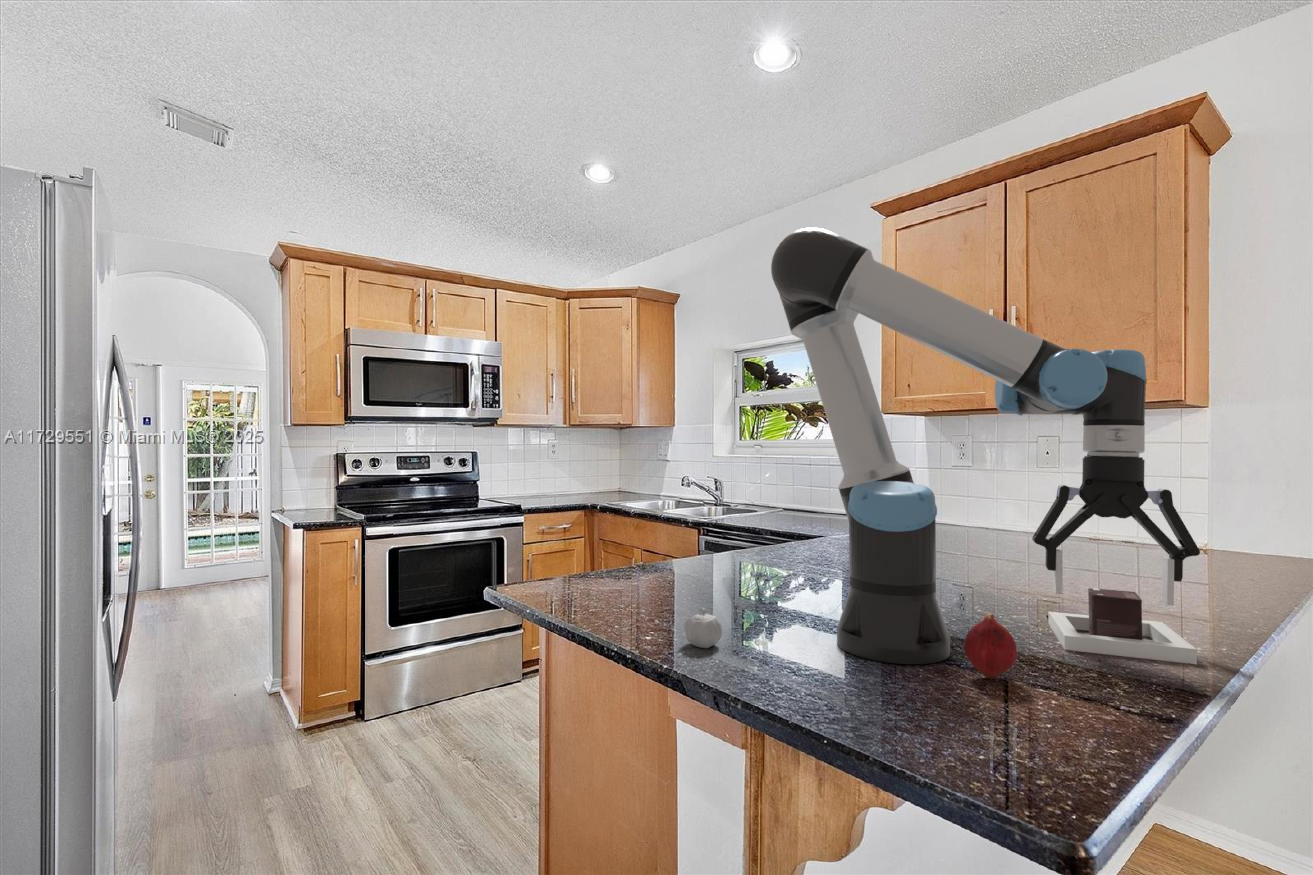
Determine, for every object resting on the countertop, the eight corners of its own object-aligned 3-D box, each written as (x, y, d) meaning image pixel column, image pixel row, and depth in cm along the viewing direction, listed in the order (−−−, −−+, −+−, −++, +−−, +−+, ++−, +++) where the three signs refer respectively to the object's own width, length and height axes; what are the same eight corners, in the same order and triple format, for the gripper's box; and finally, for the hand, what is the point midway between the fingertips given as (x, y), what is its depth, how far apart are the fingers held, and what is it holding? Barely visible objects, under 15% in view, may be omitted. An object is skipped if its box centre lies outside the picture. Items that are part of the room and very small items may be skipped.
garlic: (687, 638, 96) (688, 603, 96) (724, 640, 95) (724, 605, 95) (681, 650, 90) (681, 613, 90) (719, 653, 89) (719, 615, 89)
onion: (1024, 689, 76) (1023, 621, 76) (971, 685, 77) (971, 618, 77) (1007, 672, 82) (1007, 609, 82) (959, 669, 83) (959, 606, 83)
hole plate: (1064, 649, 91) (1064, 635, 91) (1048, 623, 105) (1048, 611, 105) (1197, 664, 85) (1196, 649, 85) (1161, 634, 99) (1161, 621, 99)
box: (1143, 651, 91) (1142, 599, 91) (1092, 645, 94) (1091, 594, 94) (1136, 640, 96) (1136, 591, 96) (1088, 634, 99) (1087, 587, 99)
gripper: (1020, 452, 97) (1017, 592, 97) (1230, 457, 87) (1228, 614, 87) (1014, 452, 104) (1012, 583, 104) (1209, 457, 94) (1207, 602, 94)
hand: (1110, 598), depth 95 cm, fingers open, 13 cm apart
